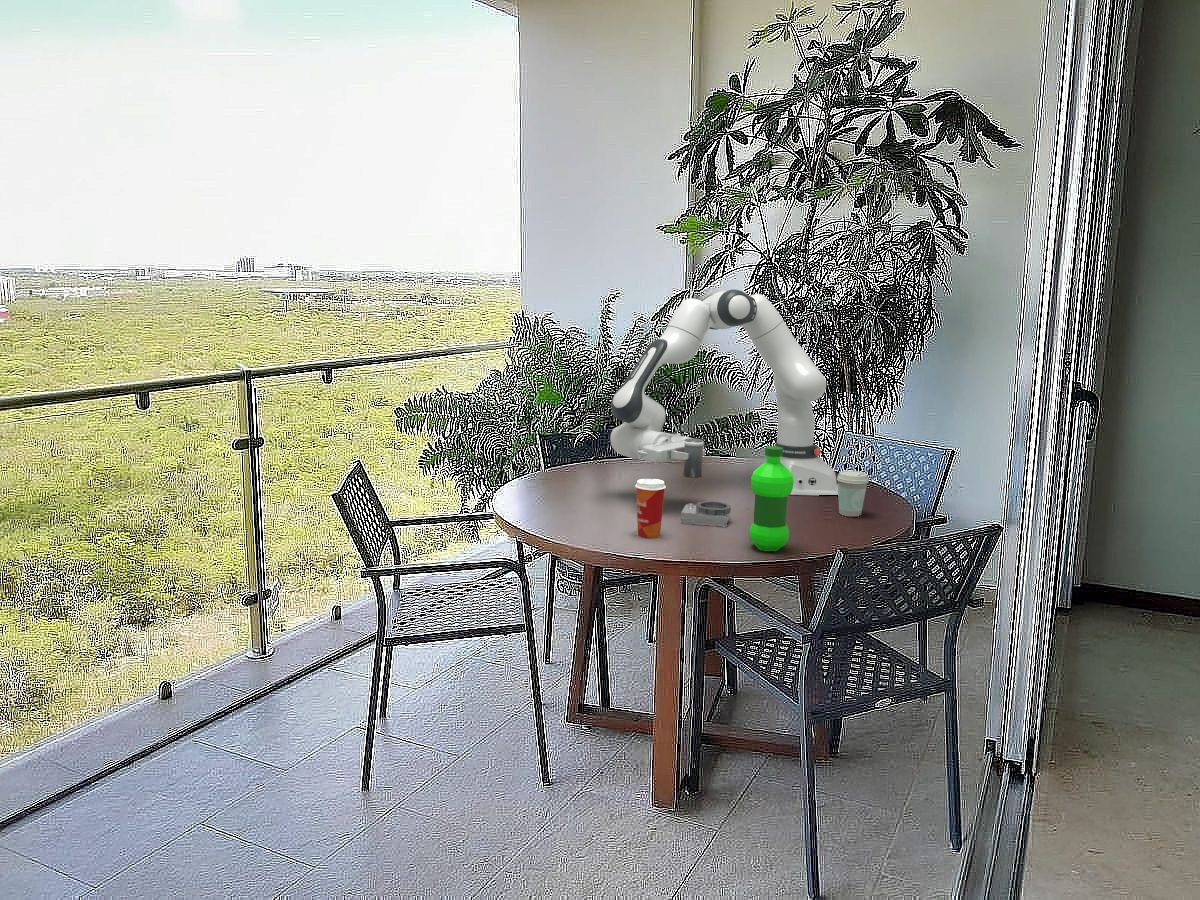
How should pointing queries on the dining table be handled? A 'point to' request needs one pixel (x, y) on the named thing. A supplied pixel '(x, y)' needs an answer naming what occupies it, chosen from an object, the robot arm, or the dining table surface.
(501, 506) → the dining table surface
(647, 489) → the paper cup
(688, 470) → the lens
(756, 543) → the plastic bottle
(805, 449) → the robot arm
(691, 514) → the camera body
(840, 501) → the coffee cup
